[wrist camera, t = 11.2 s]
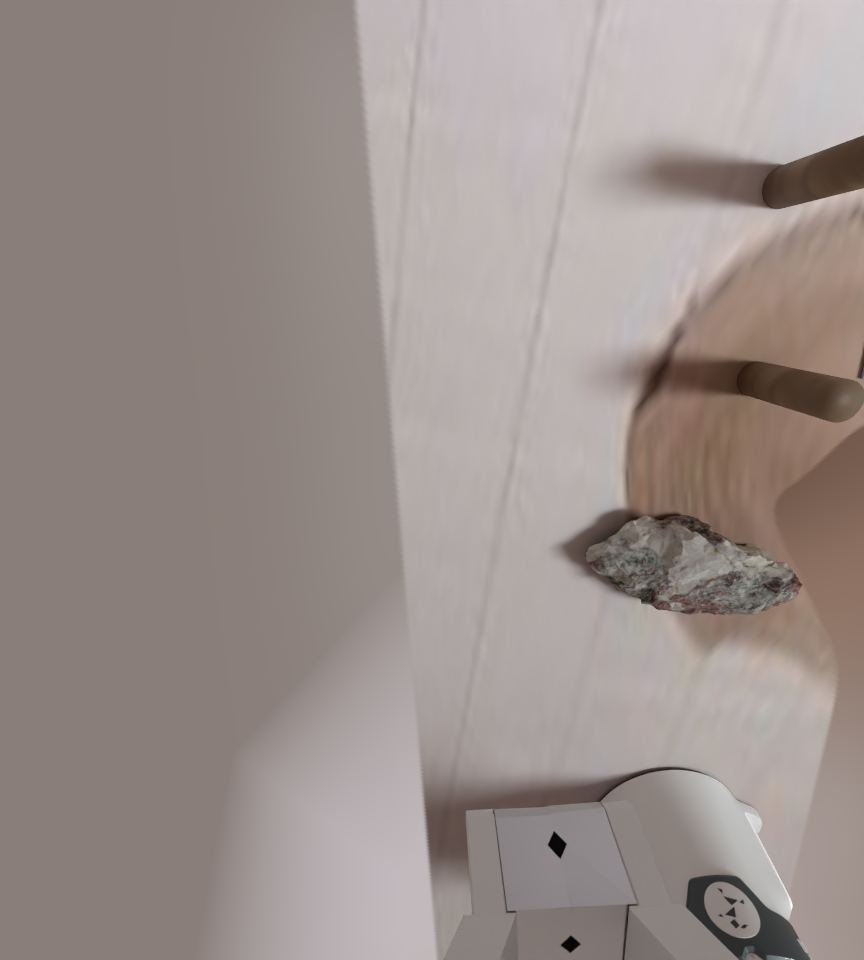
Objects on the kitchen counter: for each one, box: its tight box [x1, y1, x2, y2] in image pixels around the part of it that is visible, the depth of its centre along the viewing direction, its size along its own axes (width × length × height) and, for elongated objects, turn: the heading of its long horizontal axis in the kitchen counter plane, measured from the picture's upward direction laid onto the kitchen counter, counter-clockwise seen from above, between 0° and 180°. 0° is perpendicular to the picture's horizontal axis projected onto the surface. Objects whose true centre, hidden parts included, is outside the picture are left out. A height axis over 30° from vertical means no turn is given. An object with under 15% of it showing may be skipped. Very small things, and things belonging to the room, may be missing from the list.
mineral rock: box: [585, 515, 802, 615], centre depth 38 cm, size 15×8×4 cm, turn 65°
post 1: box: [762, 136, 864, 209], centre depth 27 cm, size 2×2×8 cm
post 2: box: [737, 362, 864, 423], centre depth 32 cm, size 2×2×8 cm
